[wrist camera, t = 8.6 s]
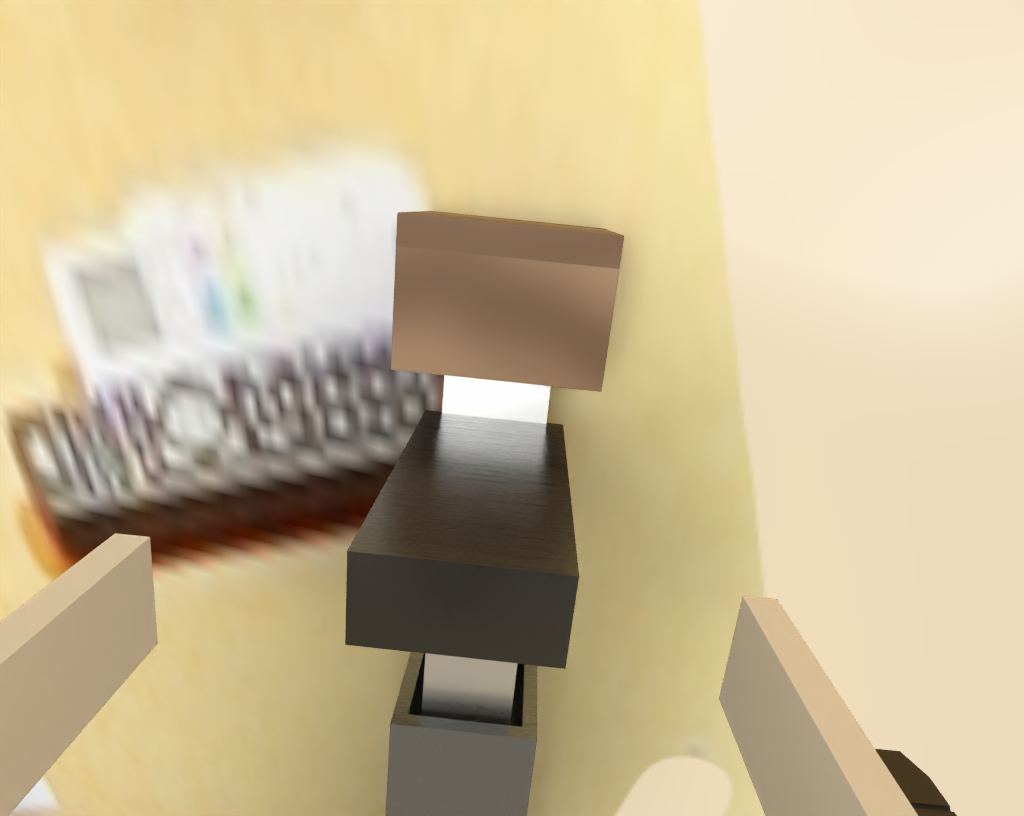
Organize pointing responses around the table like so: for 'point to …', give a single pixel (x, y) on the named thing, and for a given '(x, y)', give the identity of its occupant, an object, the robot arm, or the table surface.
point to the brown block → (503, 299)
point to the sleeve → (460, 755)
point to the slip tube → (471, 550)
